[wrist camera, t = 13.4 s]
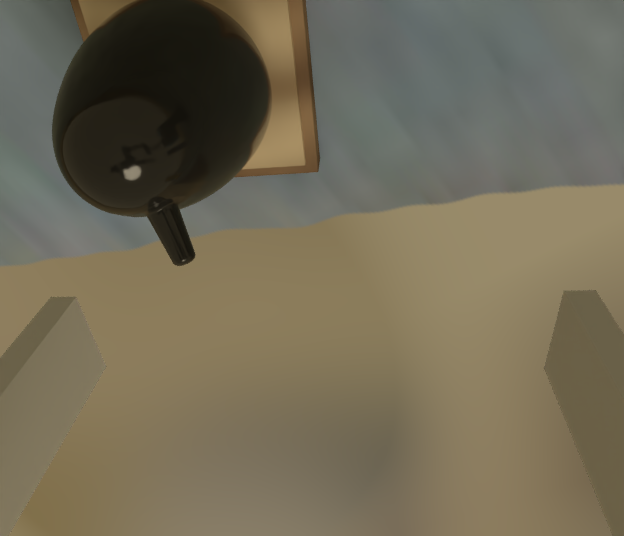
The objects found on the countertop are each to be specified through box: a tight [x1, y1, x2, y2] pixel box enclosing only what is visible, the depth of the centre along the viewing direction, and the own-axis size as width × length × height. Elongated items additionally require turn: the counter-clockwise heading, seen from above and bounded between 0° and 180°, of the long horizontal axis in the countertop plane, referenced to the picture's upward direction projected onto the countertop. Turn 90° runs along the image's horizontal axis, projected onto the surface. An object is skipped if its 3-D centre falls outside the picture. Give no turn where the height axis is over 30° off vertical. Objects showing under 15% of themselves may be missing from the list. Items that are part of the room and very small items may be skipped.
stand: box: [70, 0, 320, 177], centre depth 33 cm, size 14×14×3 cm
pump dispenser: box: [52, 0, 272, 266], centre depth 26 cm, size 10×10×15 cm
